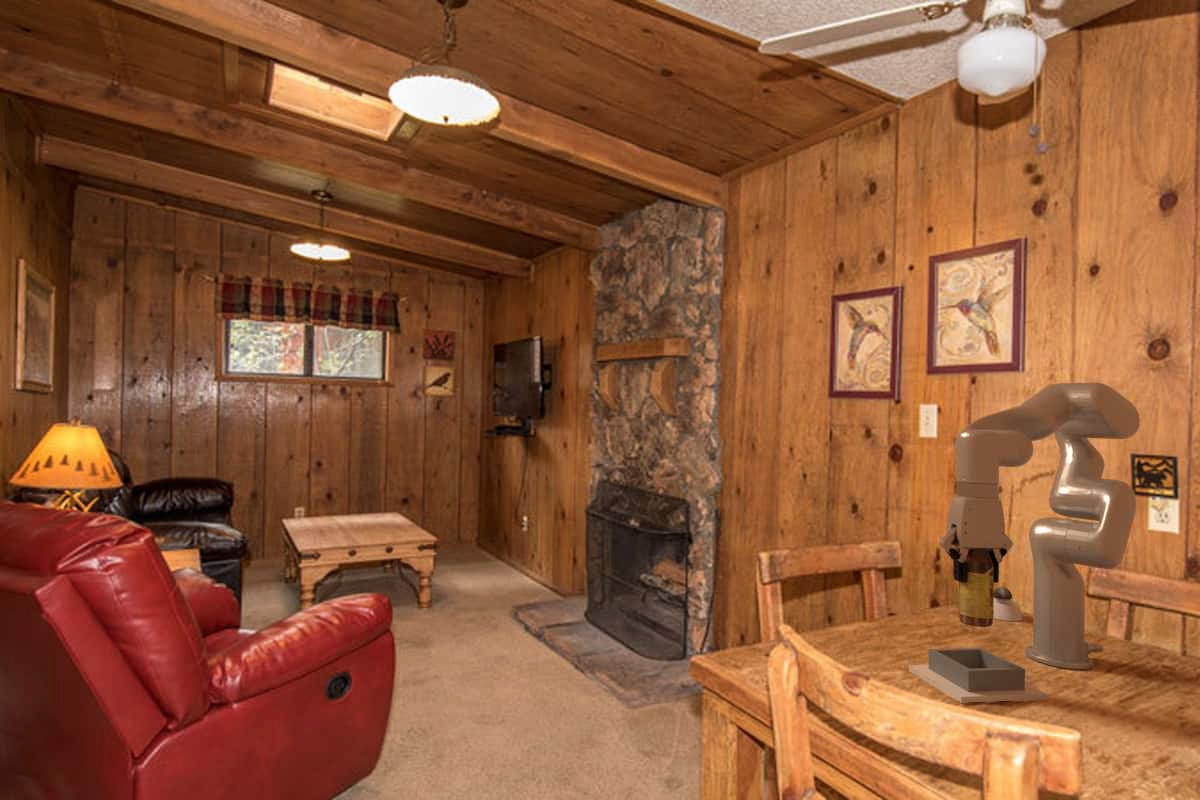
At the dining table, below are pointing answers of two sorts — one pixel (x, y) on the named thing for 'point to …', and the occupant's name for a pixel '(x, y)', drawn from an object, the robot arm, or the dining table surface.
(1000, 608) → the inkwell
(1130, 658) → the dining table surface
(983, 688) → the bottle stand
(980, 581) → the sauce bottle
